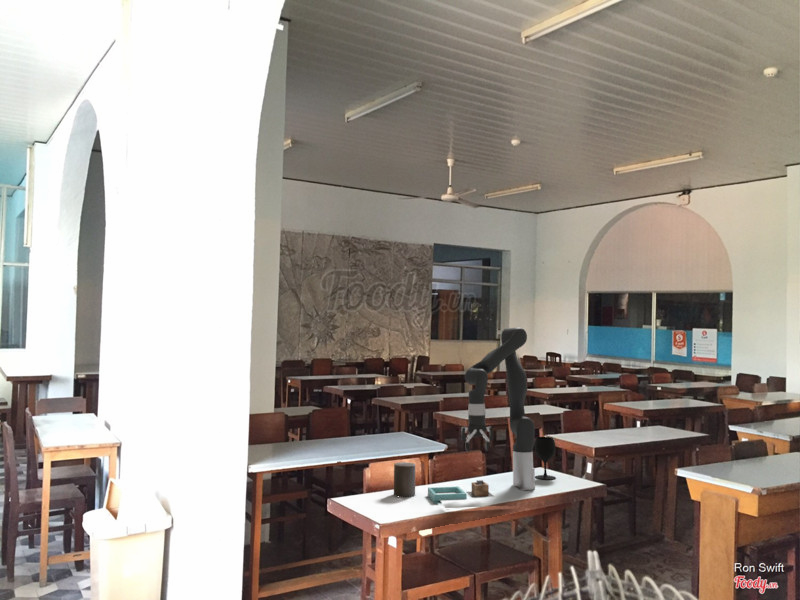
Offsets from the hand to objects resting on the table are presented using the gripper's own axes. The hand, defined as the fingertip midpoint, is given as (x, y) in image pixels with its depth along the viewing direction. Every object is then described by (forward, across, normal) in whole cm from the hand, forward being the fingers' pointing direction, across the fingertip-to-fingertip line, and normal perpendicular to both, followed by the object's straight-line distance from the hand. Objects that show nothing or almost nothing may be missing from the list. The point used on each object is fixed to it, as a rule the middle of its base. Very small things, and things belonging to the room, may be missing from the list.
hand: (477, 450), depth 283 cm
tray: (+20, +14, +2) cm, 25 cm away
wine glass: (+21, -43, -35) cm, 59 cm away
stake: (+20, -1, +1) cm, 20 cm away
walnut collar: (+19, -1, +1) cm, 19 cm away
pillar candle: (+20, +32, -8) cm, 38 cm away
